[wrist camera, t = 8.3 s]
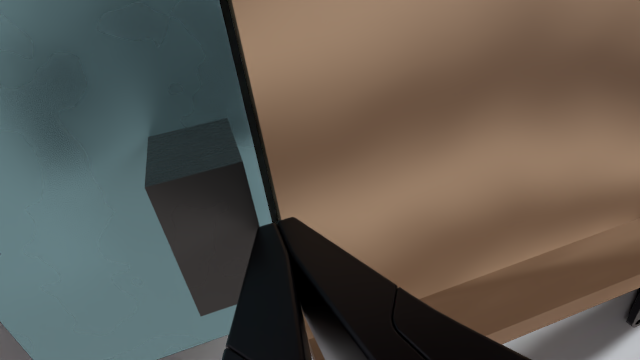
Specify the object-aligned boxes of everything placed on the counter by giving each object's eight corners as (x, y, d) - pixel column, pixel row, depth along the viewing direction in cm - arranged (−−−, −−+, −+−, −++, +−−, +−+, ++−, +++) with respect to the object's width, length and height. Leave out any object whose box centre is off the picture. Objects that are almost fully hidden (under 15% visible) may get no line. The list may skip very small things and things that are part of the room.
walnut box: (666, 203, 21) (744, 244, 18) (304, 334, 17) (332, 413, 14) (890, -307, 11) (1132, -387, 9) (165, -271, 7) (164, -400, 5)
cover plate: (283, 283, 16) (313, 370, 13) (70, 354, 15) (43, 475, 11) (199, -64, 10) (217, -64, 6) (-207, -5, 8) (-458, 37, 5)
